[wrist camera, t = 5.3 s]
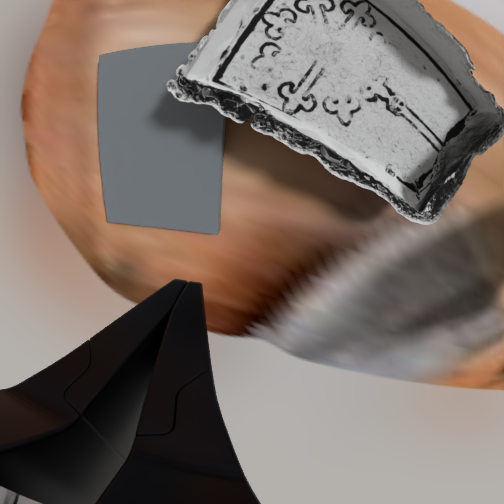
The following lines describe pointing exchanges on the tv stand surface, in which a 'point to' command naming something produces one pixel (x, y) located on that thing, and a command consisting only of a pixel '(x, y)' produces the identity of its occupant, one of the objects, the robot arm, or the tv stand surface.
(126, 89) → the mat
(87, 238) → the tv stand surface
